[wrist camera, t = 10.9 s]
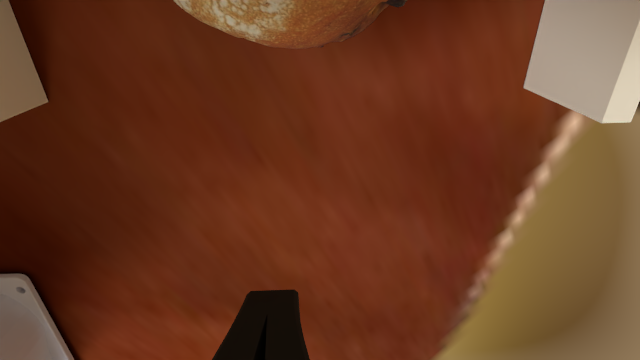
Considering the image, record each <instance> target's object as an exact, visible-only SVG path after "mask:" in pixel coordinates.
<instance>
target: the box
mask: <svg viewBox="0 0 640 360" xmlns="http://www.w3.org/2000/svg"><path fill="white" fill-rule="evenodd" d="M524 88H525V89H527V90H529V91H532V92H534V93H536V94H538V95H540V96H543V97H545V98H547V99H549V100H551V101H554V102H556V103H558V104H560V105H563V106H565V107H567V108H569V109H571V110H574V111H576V112H578V113H580V114H583V115H585V116H587V117H589V118H591V119H594V120H596V121H598V122H600V123H622V122H631V121H632V118H633V116H634V113H635V111H636V108H637V106H638V104H639V101H640V0H545V3H544V7H543V11H542V15H541V19H540V23H539V27H538V31H537V35H536V39H535V43H534V47H533V51H532V55H531V59H530V63H529V67H528V71H527V75H526V80H525V84H524ZM47 102H48V99H47V97H46V94H45V92H44V89H43V87H42V84H41V81H40V79H39V76H38V74H37V71H36V69H35V66H34V64H33V61H32V59H31V56H30V54H29V51H28V48H27V46H26V43H25V41H24V38H23V36H22V33H21V31H20V28H19V26H18V23H17V21H16V18H15V15H14V13H13V10H12V8H11V5H10V3H9V0H0V122H1V121H4V120H6V119H9V118H11V117H13V116H16V115H18V114H21V113H23V112H25V111H28V110H30V109H33V108H35V107H37V106H40V105H42V104H45V103H47Z"/></svg>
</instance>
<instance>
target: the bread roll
mask: <svg viewBox="0 0 640 360" xmlns="http://www.w3.org/2000/svg"><path fill="white" fill-rule="evenodd" d="M173 1H174V2H175V3H176V4H177V5H178V6H180V7H181V8H182V9H183V10H185V11H186V12H187V13H189V14H191V15H192V16H193V17H195V18H196V19H198V20H199V21H201V22H203V23H206V24H208V25H210V26H212V27H214V28H217V29H219V30H221V31H224V32H226V33H228V34H230V35H232V36H235V37H238V38H245V39H247V40H250V41H253V42H256V43H260V44H263V45H266V46H270V47H276V48H279V47H282V48H291V49H305V48H311V47H323V45H324V44H327V43H329V42H342V41H344V40H346V39H348V38H351V37H354V36H355V35H357V34H358V33H360V32H362V31H363V30H364V29H365V28H367V27H368V26H369V25H370V24H371V23H372V22H374V21H375V19H376V18H377V16H378V15H379V13H380V12H381V11H383V10H384V9H385V8H386V7H387V6H388V5H392V6H395V7H401V6H403V5H404V4H405V2H406V1H407V0H173Z"/></svg>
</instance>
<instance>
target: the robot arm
mask: <svg viewBox="0 0 640 360" xmlns="http://www.w3.org/2000/svg"><path fill="white" fill-rule="evenodd" d="M0 360H74V358H73V356H72V355H71V353H70V351H69V349H68V347H67V345H66V344H65V342H64V340H63V338H62V336H61V335H60V333H59V331H58V329H57V327H56V326H55V324H54V322H53V320H52V318H51V317H50V315H49V313H48V311H47V309H46V308H45V306H44V304H43V302H42V300H41V298H40V297H39V295H38V293H37V291H36V289H35V288H34V286H33V284H32V282H31V280H30V279H29V278H28V277H27V276H26V275H24V274H0ZM212 360H310V359H309V356H308V352H307V348H306V345H305V341H304V337H303V333H302V328H301V323H300V312H299V298H298V292H296V291H295V290H271V291H250V292H249V293H248V294H247V296H246V298H245V300H244V303H243V305H242V307H241V309H240V311H239V313H238V315H237V317H236V319H235V320H234V322H233V324H232V326H231V328H230V330H229V331H228V333H227V335H226V337H225V339H224V340H223V342H222V344H221V345H220V347H219V349H218V350H217V352H216V354H215V355H214V357H213V359H212Z"/></svg>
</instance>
